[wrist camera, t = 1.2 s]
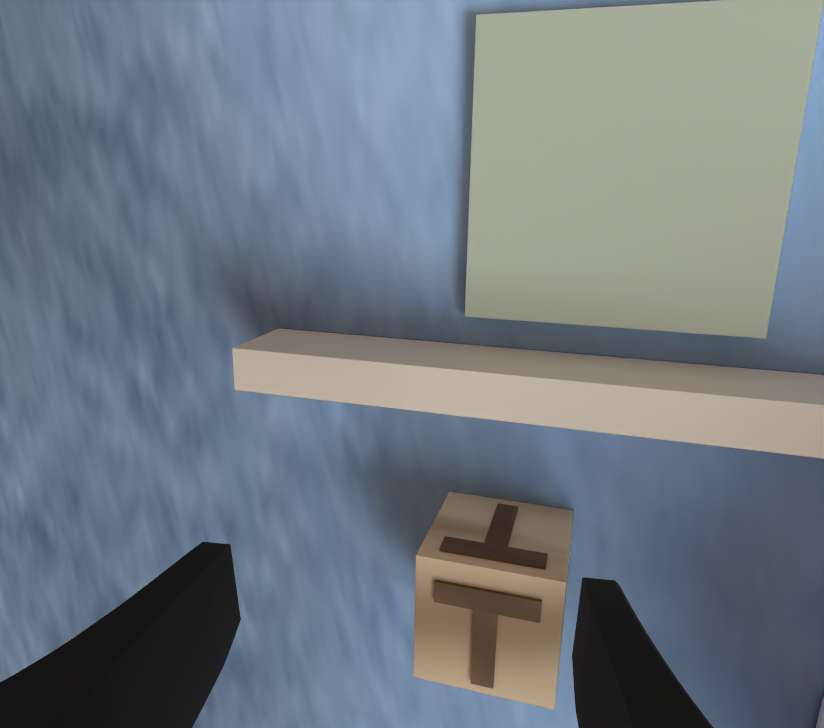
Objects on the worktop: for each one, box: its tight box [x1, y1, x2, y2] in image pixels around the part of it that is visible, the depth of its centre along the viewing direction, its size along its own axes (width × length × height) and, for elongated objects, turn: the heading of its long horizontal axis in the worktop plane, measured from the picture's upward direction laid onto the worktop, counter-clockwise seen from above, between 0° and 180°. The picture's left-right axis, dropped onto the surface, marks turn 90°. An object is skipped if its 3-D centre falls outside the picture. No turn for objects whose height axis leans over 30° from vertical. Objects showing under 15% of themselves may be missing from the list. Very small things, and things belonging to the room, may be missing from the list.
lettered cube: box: [414, 492, 574, 710], centre depth 24 cm, size 5×5×5 cm
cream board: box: [232, 328, 824, 458], centre depth 22 cm, size 2×22×4 cm, turn 89°
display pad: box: [465, 0, 824, 339], centre depth 21 cm, size 10×10×1 cm
